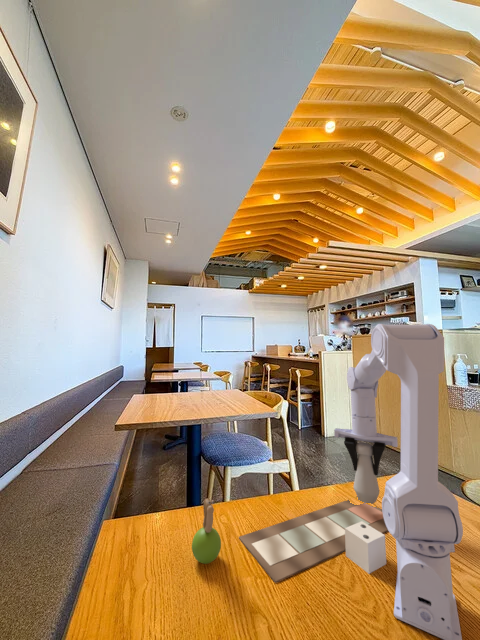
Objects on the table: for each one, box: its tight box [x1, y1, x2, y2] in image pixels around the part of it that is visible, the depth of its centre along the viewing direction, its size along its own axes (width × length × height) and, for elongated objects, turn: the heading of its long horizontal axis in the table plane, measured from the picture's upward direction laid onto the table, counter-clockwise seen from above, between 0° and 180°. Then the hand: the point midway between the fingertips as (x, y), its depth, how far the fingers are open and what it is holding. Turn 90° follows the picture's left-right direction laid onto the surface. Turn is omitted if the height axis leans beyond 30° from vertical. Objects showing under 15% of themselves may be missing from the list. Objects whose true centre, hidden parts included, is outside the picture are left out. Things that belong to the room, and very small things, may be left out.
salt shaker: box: [353, 441, 380, 505], centre depth 68 cm, size 6×6×13 cm
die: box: [345, 521, 387, 574], centre depth 52 cm, size 5×5×5 cm
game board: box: [238, 499, 389, 584], centre depth 61 cm, size 37×13×1 cm, turn 119°
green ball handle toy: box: [191, 498, 222, 565], centre depth 52 cm, size 5×6×12 cm
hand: (366, 471), depth 69 cm, fingers closed on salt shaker, 4 cm apart
